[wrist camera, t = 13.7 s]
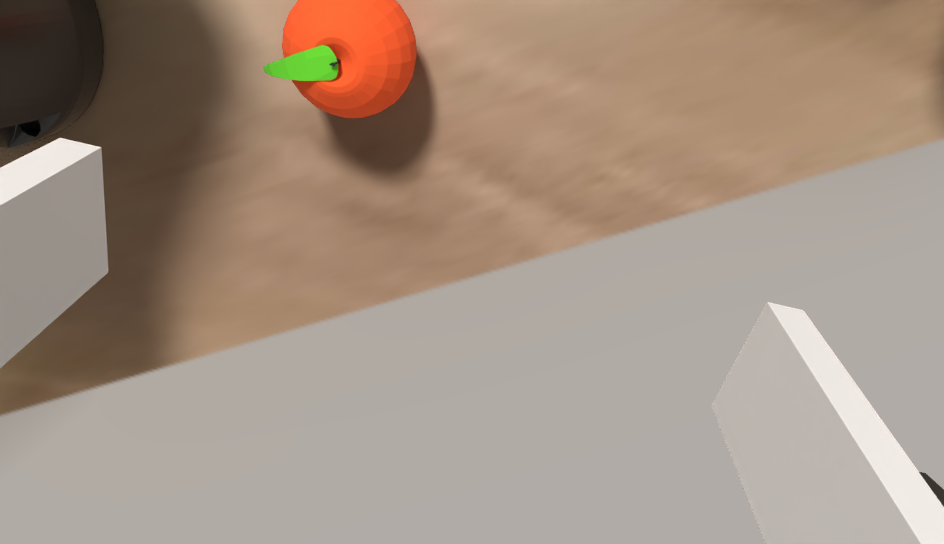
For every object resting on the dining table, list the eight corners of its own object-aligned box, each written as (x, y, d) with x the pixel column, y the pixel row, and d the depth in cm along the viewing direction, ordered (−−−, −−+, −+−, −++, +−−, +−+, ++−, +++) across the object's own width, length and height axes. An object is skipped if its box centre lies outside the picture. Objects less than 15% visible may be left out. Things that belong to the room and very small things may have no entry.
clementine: (308, 111, 40) (266, 147, 33) (272, -11, 36) (218, 3, 30) (436, 91, 38) (417, 124, 32) (411, -38, 35) (385, -28, 29)
